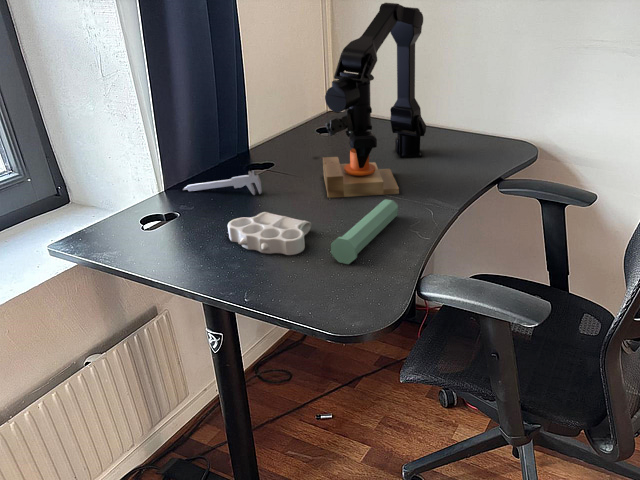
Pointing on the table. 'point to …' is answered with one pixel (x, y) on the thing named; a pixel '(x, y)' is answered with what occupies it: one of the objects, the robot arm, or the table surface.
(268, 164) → the table surface
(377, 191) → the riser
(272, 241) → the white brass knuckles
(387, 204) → the mint green bar
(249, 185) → the caliper
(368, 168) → the hat
